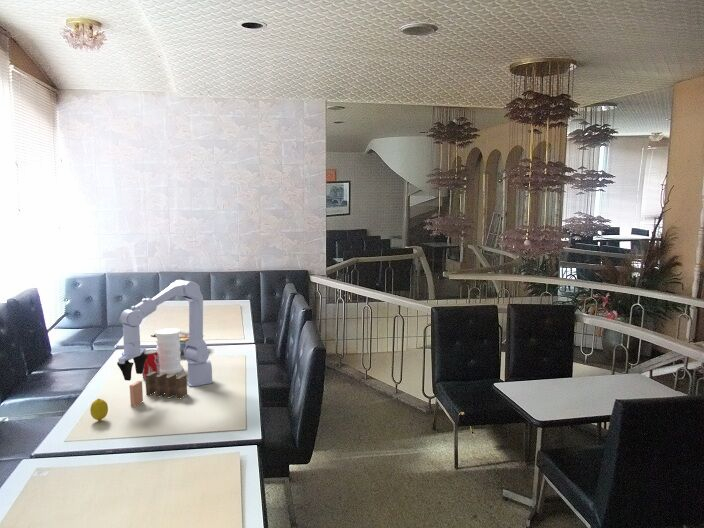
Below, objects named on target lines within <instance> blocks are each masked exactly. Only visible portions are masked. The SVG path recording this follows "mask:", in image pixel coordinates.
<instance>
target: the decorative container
mask: <svg viewBox="0 0 704 528" xmlns="http://www.w3.org/2000/svg"><path fill="white" fill-rule="evenodd" d="M181 332H182V331H181V329H180V328H171V327H169V328H167V327H166V328H162V329H157V330H155V332H154V334H155V336H157V337H156V340H155V342H156V350H157V353H158V354H159V364H160V374H161V373H167V375H171V374H178V373H180V372H182V371H183V370H184V366H183V365H182V364H181V362H182V361H181V360H182V359H181V354H182V353H181V352H180V343H179V341H180V337H179V334H181Z"/></svg>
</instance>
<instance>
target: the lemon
mask: <svg viewBox="0 0 704 528" xmlns="http://www.w3.org/2000/svg"><path fill="white" fill-rule="evenodd" d="M89 410H90V411H89V412H90V415H91V417H92V418H93V419H94V420H96V421H99V422H101V421H102V420H103V419H105V418H106V417H107V415H108V412H109V406H108V404H107V401H106V400H104V399H101V398H97V399H96V400H94V401H93V402H92V403H91V405H90V409H89Z"/></svg>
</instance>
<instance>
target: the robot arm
mask: <svg viewBox="0 0 704 528" xmlns="http://www.w3.org/2000/svg"><path fill="white" fill-rule="evenodd" d="M173 297H182V298H183V299H185V300H186V301H187V302H188V303H189V305H188V311H189V312H188V315H189V316H188V322H189V323H188V327H189V328H188V329H189V330H188V332H189V340H188V341H187V342H186V347H185V350H184V353H183V357H184V358H185V359H186V362H187V386H188V387H190V388H191V387H196V386H204V385H208V384H213V368H212V362H211V360H208V359H209V357H210V353H209V350H208V349H209V348H208V344H207V343H206V341H205V340H204V336H203V335H204V297H203V294H202V291H201V286H200V285H199V284H198V283H197V282H195V281H190V280H183V279H176V280H175V281H173V282H171V283H170V284H169V286H167V287H166V288H165V289H163V290H162V291H161V292H159V293H158V294H156V295H155V296H153V297H152V298H150V297H147V298H142V299H141V301H140V302H139V303H137V304H136V305H132V306H131V307H130V309H129V308H128V309H124V310H123V311H122V312H121V314H120V317H119V318H118V320H119V322H120V324H121V325H122V335H123V336H122V338H123V352H122V353H121V356H120V357H119V358H118V361H117V362H116V365H117V366H118V368H119V369H120V371H121V373H122V376H123V378H124V381H127V382H128V381H131V379H132V371H133V365H134V368H135V374H137V375H142V372H143V368H144V364H145V361H146V359H147V357H148V355H147V354H144V353H146V350H147V349H146V347H141V334H140V325H141V323H143V320H144V319H145V318H147V317H148V316H150V315H151V314H153V313H154V312H156V310H157V307H158V306H160V305H162V304H163V303H164V302H167V301H168V300H170V299H171V298H173ZM132 359H133V362H130V361H131V360H132Z"/></svg>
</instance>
